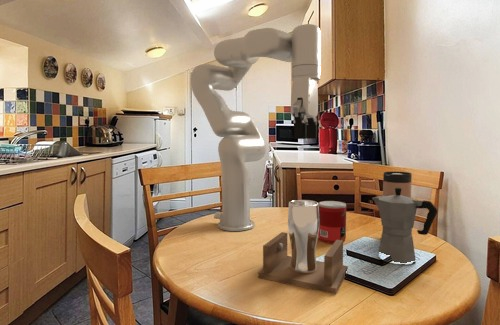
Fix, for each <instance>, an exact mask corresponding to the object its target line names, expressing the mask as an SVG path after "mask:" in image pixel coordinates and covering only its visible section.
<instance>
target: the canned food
mask: <svg viewBox="0 0 500 325" xmlns="http://www.w3.org/2000/svg"><path fill="white" fill-rule="evenodd" d="M318 203H319V234H318V240H320V241H322V242H324V243H327V244H334V242H335V241H336V240H343V243H344V242H345V241H346V239H347V204H346V202H344V201H343V202H342V201H335V200H324V201H319V202H318Z"/></svg>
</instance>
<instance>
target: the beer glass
mask: <svg viewBox="0 0 500 325" xmlns="http://www.w3.org/2000/svg"><path fill="white" fill-rule="evenodd" d="M287 230H288V235H289V236H288V237H289V241H290V246H291V256H292V257H291V262H290V269H291V270H292V271H294V272H297V273H301V274H309V273H313V272H315V271H316V270H317V263H316V261H317V259H316V249H317V243H318V240H319V236H318V234H319V202H317V201H315V200H310V199H297V200H296V199H295V200H291V201H288V210H287Z"/></svg>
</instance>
